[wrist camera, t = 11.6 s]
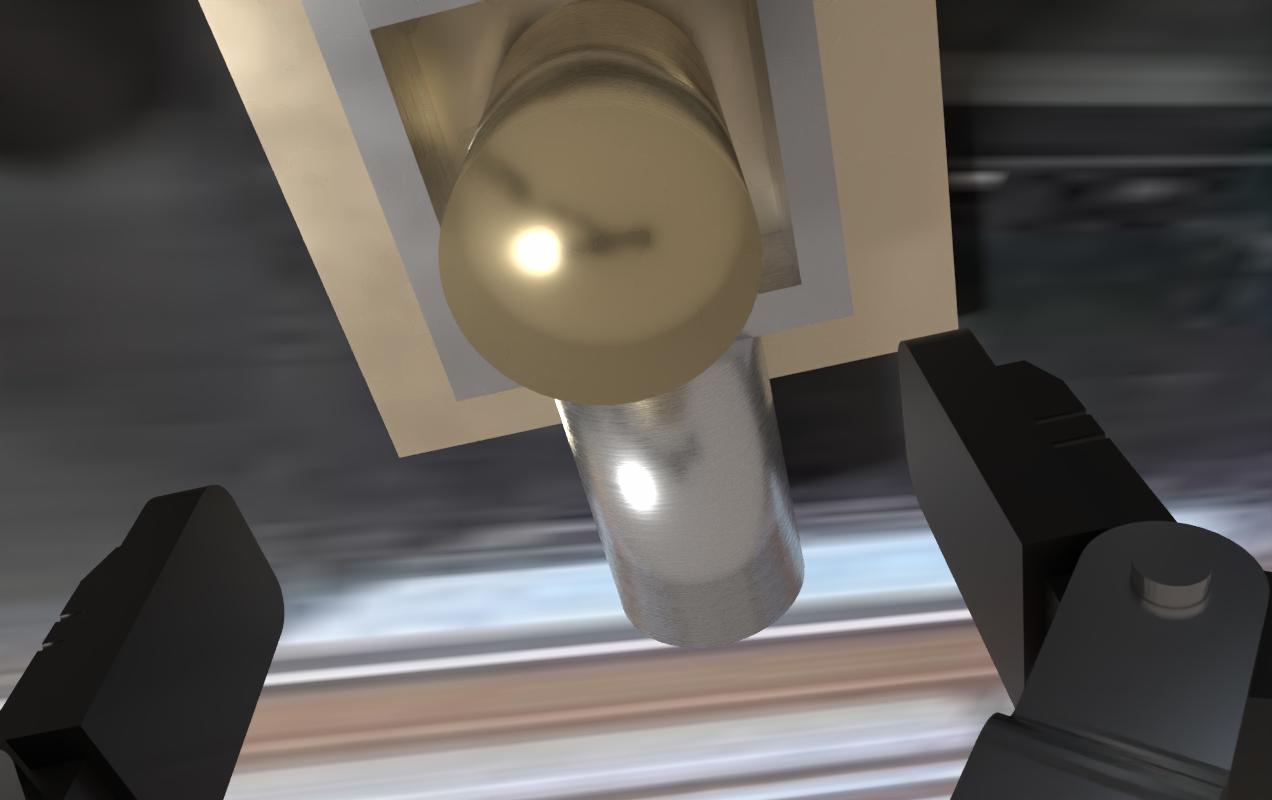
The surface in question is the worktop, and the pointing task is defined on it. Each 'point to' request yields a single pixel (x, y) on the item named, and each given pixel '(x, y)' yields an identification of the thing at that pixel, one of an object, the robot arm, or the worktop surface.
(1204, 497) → the worktop surface
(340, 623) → the worktop surface
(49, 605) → the worktop surface
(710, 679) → the worktop surface
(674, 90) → the brass cylinder plug
